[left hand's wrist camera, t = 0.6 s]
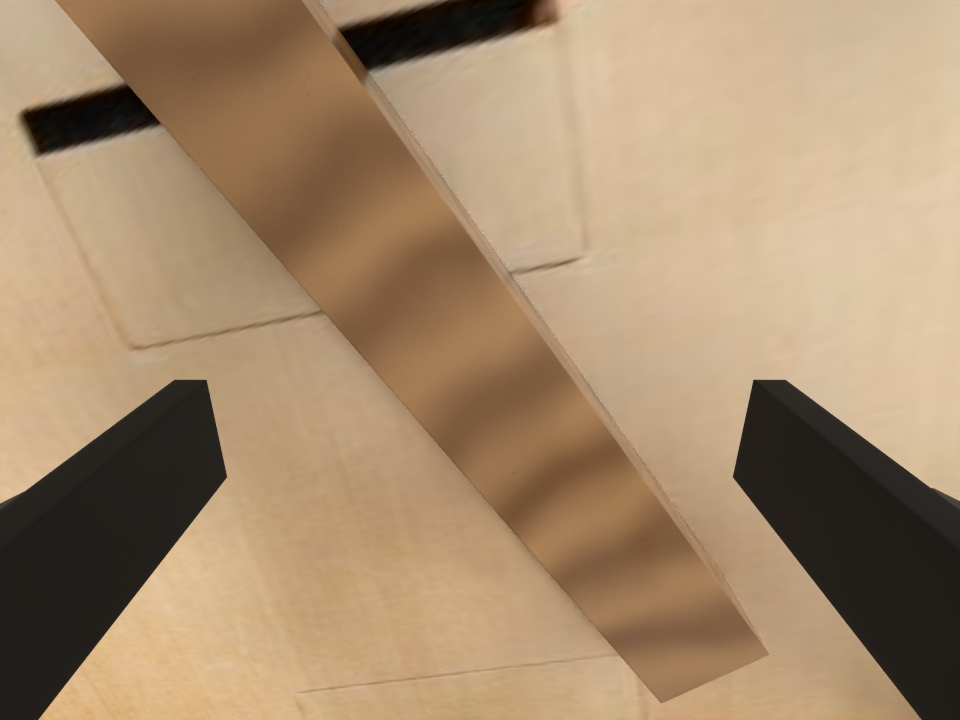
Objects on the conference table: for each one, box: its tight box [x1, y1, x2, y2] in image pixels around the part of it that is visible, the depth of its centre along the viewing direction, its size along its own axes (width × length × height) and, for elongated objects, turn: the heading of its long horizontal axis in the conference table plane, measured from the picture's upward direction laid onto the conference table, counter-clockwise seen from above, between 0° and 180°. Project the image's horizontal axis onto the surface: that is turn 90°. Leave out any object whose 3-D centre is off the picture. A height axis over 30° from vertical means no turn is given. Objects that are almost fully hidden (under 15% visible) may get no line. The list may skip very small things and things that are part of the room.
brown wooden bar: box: [55, 0, 769, 703], centre depth 33 cm, size 56×9×7 cm, turn 36°
